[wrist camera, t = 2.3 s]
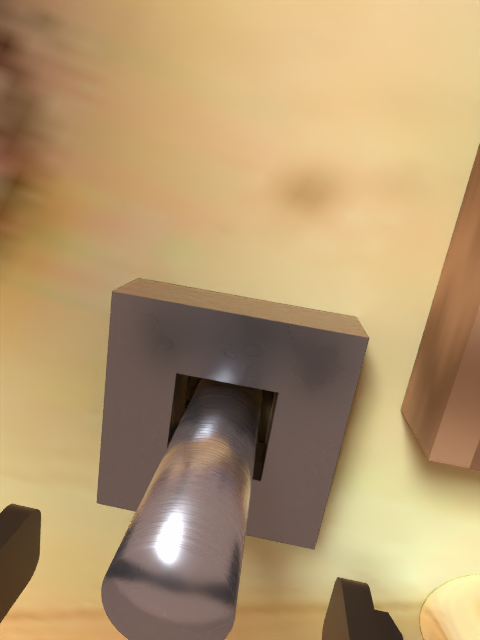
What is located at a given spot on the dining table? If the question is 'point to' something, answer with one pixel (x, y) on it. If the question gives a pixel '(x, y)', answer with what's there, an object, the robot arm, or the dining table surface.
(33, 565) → the robot arm
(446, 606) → the beer glass
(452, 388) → the rack
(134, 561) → the round metal peg
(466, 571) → the dining table surface
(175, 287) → the socket block
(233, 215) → the dining table surface
